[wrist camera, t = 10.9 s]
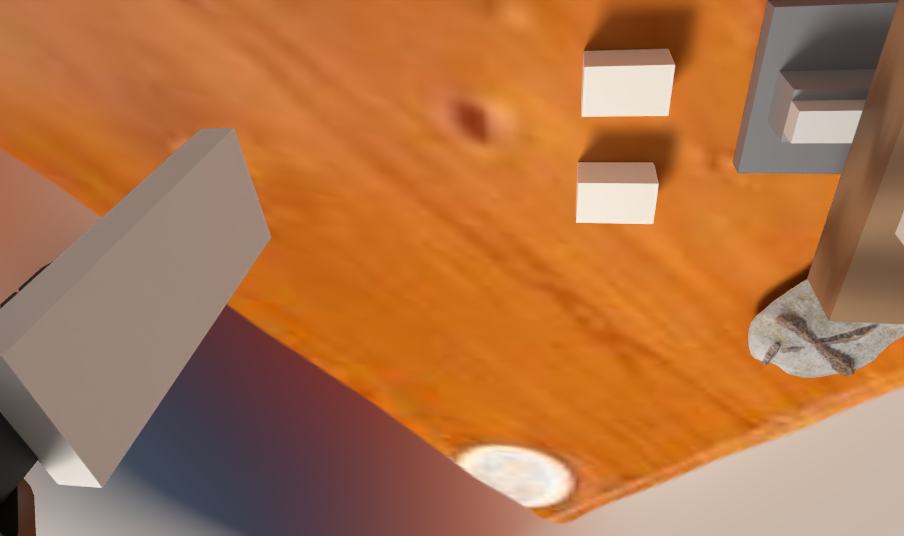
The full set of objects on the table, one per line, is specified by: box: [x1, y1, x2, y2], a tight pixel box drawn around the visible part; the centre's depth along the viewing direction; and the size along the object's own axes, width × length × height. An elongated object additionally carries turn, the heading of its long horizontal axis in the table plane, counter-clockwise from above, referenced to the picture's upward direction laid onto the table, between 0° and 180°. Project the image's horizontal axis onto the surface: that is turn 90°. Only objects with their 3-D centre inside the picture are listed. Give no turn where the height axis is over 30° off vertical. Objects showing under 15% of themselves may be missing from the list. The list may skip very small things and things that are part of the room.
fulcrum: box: [733, 0, 899, 174], centre depth 34 cm, size 10×12×6 cm
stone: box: [748, 279, 904, 378], centre depth 44 cm, size 12×9×3 cm
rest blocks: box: [576, 49, 675, 224], centre depth 39 cm, size 10×5×3 cm, turn 4°
